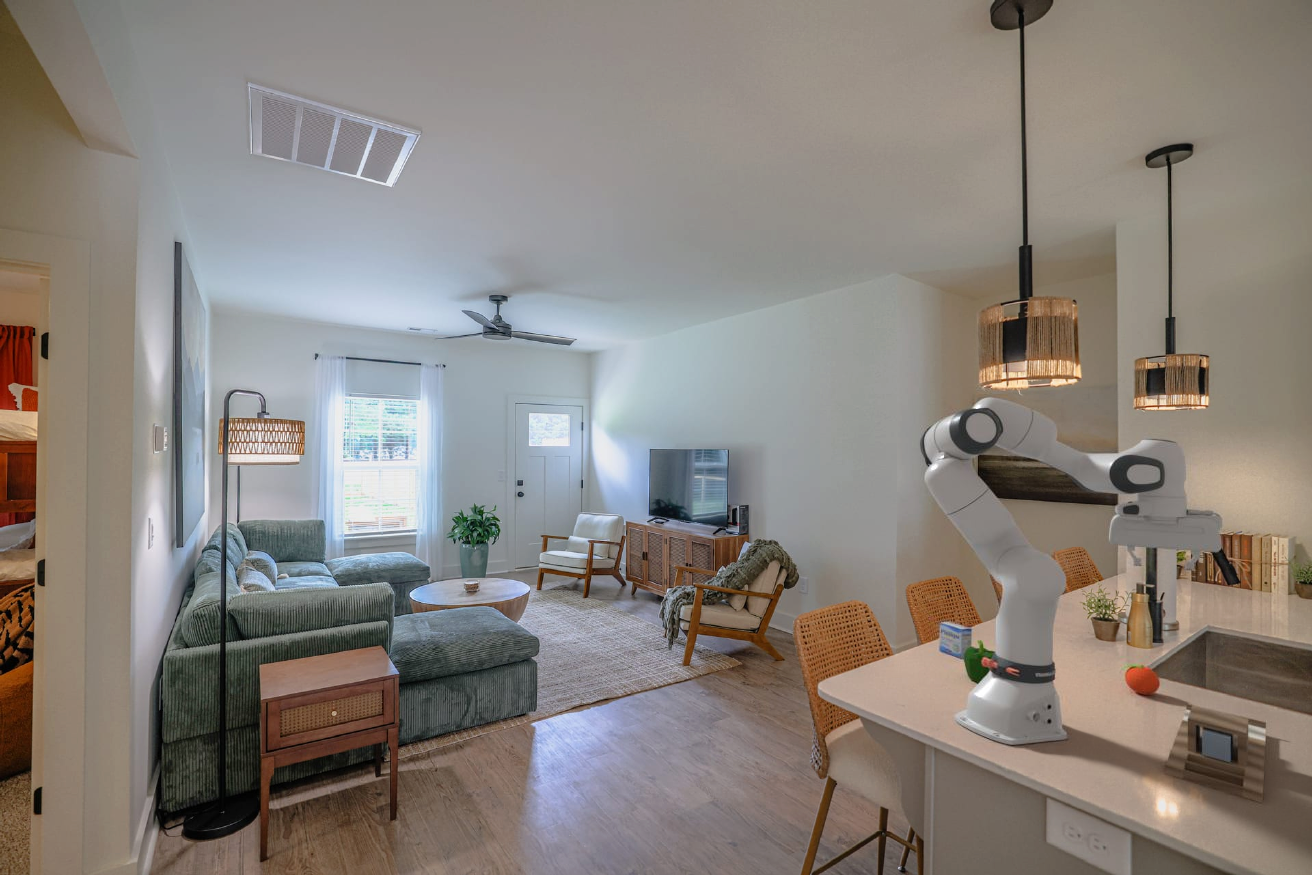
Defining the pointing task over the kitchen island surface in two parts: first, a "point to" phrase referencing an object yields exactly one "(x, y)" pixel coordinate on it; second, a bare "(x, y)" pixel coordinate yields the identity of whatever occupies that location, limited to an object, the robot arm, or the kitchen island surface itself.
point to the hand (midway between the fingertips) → (1162, 567)
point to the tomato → (1141, 679)
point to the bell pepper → (976, 661)
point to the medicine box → (954, 639)
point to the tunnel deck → (1226, 776)
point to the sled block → (1217, 744)
